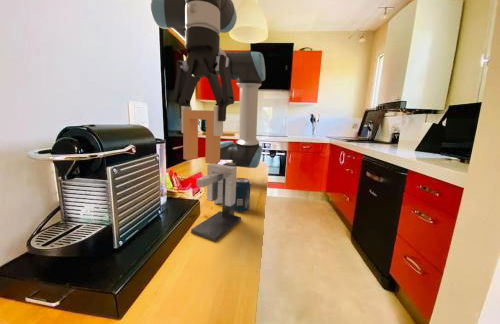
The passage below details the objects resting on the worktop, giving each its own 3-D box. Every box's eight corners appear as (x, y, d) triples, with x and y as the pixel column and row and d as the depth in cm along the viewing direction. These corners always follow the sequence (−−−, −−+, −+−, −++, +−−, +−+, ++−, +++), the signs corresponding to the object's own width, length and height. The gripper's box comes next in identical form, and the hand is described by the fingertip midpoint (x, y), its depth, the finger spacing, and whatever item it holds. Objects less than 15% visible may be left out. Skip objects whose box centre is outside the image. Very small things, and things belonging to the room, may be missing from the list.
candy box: (219, 192, 96) (220, 159, 93) (232, 193, 96) (233, 159, 93) (213, 204, 83) (214, 165, 80) (228, 205, 83) (229, 166, 80)
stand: (219, 214, 74) (221, 161, 71) (241, 220, 71) (243, 164, 67) (187, 235, 60) (186, 170, 56) (212, 244, 56) (213, 175, 52)
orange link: (191, 157, 53) (191, 111, 51) (219, 162, 49) (221, 111, 47) (183, 159, 51) (183, 110, 48) (212, 163, 47) (213, 110, 44)
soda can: (233, 205, 83) (234, 177, 81) (250, 206, 83) (251, 178, 80) (230, 212, 76) (231, 182, 74) (248, 213, 76) (249, 183, 73)
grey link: (212, 197, 69) (213, 163, 67) (235, 203, 65) (236, 167, 63) (207, 200, 66) (207, 164, 64) (230, 206, 62) (231, 168, 60)
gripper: (154, 32, 46) (157, 131, 50) (235, 14, 37) (231, 138, 41) (179, 44, 53) (180, 131, 57) (254, 32, 43) (248, 137, 47)
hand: (201, 134), depth 49 cm, fingers closed on orange link, 9 cm apart
